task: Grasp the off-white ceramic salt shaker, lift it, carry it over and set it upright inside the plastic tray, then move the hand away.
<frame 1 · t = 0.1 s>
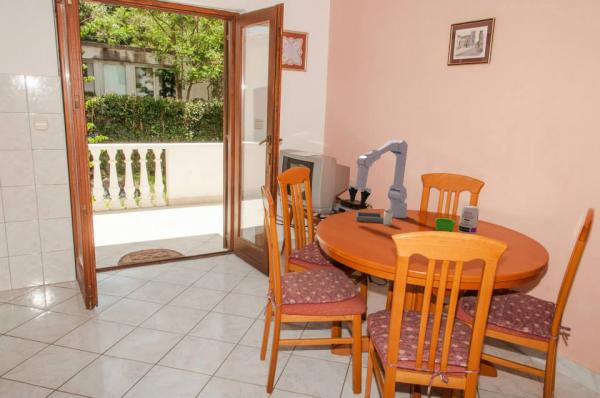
hand: (357, 203, 225), 11 cm above the table, tool pointing down, fingers open, 7 cm apart
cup: (442, 243, 196), on the table
shaker: (387, 224, 227), on the table
tray: (369, 219, 236), on the table
supplement can: (466, 236, 209), on the table
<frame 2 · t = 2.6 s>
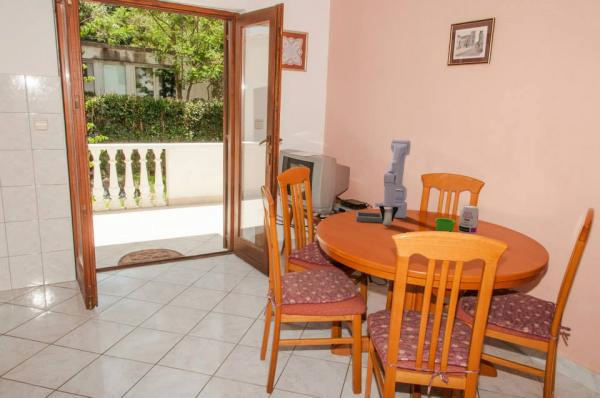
hand: (387, 220, 226), 2 cm above the table, tool pointing down, fingers closed on shaker, 4 cm apart
shaker: (387, 224, 227), on the table, touching gripper
everything else where it was.
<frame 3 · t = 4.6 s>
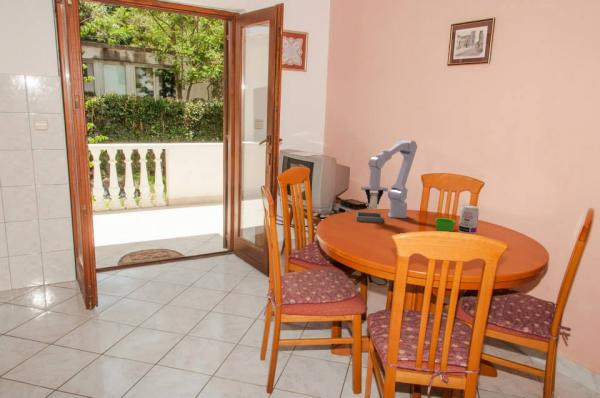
hand: (373, 203, 233), 9 cm above the table, tool pointing down, fingers closed on shaker, 4 cm apart
shaker: (373, 207, 233), point 7 cm above the table, touching gripper
everything else where it was.
when the fingers open (4 cm above the table, at t = 6.6 s): shaker drops 1 cm, resting on tray.
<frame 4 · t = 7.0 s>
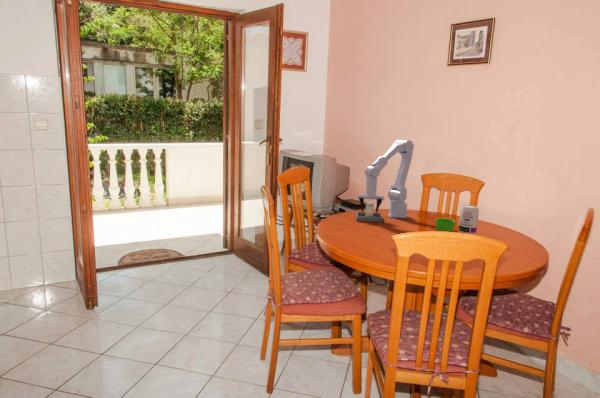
hand: (369, 212, 235), 4 cm above the table, tool pointing down, fingers open, 7 cm apart
shaker: (369, 218, 236), point 1 cm above the table, touching tray
everything else where it was.
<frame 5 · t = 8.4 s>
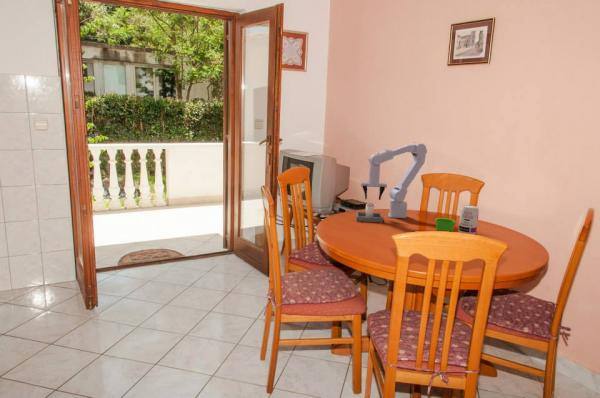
hand: (372, 199, 241), 10 cm above the table, tool pointing down, fingers open, 7 cm apart
nothing on the table moved.
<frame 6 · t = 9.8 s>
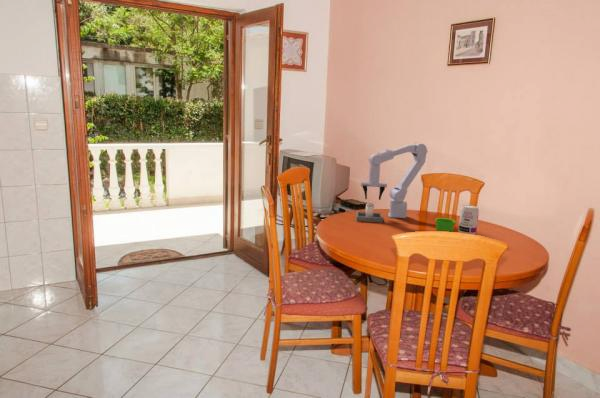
hand: (372, 199, 242), 10 cm above the table, tool pointing down, fingers open, 7 cm apart
nothing on the table moved.
at the end: shaker inside the target area on the tray (0.3 cm from its centre), point 0.6 cm above the tray's base; shaker tilted 1°; the gripper is holding nothing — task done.
